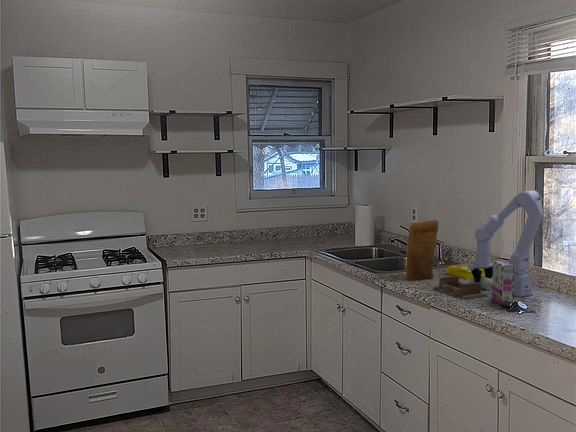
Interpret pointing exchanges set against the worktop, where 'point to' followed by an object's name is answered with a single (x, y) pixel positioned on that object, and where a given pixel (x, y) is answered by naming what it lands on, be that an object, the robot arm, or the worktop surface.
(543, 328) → the worktop surface
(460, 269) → the element tile
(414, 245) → the pancake mix bag
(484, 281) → the paper roll
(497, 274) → the candy bar box
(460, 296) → the roll cradle
